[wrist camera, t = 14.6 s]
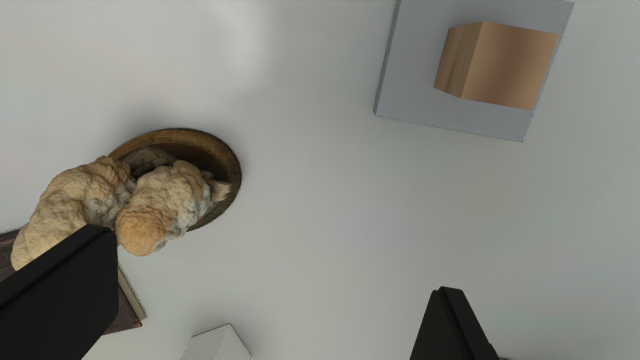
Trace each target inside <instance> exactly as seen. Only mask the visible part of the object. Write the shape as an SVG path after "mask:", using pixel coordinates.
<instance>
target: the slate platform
mask: <svg viewBox="0 0 640 360" xmlns="http://www.w3.org/2000/svg"><path fill="white" fill-rule="evenodd" d="M573 6H574V3H572V2H567V1H561V0H397V4H396V8H395V13H394V18H393V22H392V27H391V31H390V36H389V40H388V45H387V50H386V54H385V59H384V63H383V68H382V72H381V77H380V82H379V86H378V91H377V95H376V100H375V104H374V109H373V112H374V114H375V116H376V117H382V118H388V119H393V120H399V121H404V122H410V123H415V124H421V125H427V126H432V127H438V128H443V129H449V130H454V131H460V132H466V133H471V134H477V135H482V136H488V137H493V138H499V139H505V140H510V141H516V142H521V143H523V140H524V137H525V135H526V132H527V129H528V127H529V124H530V121H531V118H532V116H533V113H534V110H535V108H536V105H537V102H538V100H539V97H540V94H541V92H542V89H543V86H544V84H545V81H546V78H547V75H548V73H549V70H550V67H551V65H552V62H553V59H554V57H555V54H556V51H557V49H558V46H559V43H560V40H561V38H562V35H563V32H564V30H565V27H566V24H567V22H568V19H569V16H570V14H571V11H572V8H573ZM481 21H486V22H492V23H498V24H503V25H509V26H515V27H520V28H526V29H532V30H538V31H543V32H549V33H555V34H559V36H558V39H557V41H556V44H555V47H554V50H553V52H552V55H551V58H550V61H549V63H548V66H547V69H546V72H545V74H544V77H543V80H542V83H541V85H540V88H539V91H538V94H537V96H536V99H535V102H534V105H533V107H532V110H531V111H530V110H524V109H518V108H513V107H507V106H501V105H495V104H490V103H484V102H478V101H472V100H467V99H461V98H458V97H456V96H453V95H450V94H448V93H445V92H443V91H440V90H437V89H435V88H433V86H434V82H435V78H436V74H437V71H438V67H439V63H440V59H441V55H442V52H443V48H444V44H445V40H446V36H447V33H448V29H449V28H454V27H458V26H463V25H467V24H472V23H476V22H481Z"/></svg>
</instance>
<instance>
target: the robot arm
mask: <svg viewBox="0 0 640 360" xmlns="http://www.w3.org/2000/svg"><path fill="white" fill-rule="evenodd" d="M118 311H119V291H118V255H117V236H116V234H115V233H112V230H111V228H109V227H106V226H100V225H95V224H86V225H84V226H83V227H81V228H80V229H78V230H77V231H75V232H74V233H72V234H71V235H69V236H68V237H66V238H65V239H64V240H62V241H61V242H59V243H58V244H56V245H55V246H53V247H52V248H50V249H49V250H47V251H46V252H44V253H43V254H41V255H40V256H38V257H37V258H35V259H34V260H32V261H31V262H29V263H28V264H26V265H25V266H23V267H22V268H20V269H19V270H18V271H16V272H15V273H13V274H12V275H10V276H9V277H7V278H6V279H4V280H3V281H1V282H0V360H81V359H82V358H83V357H84V356H85V354H86V353H87V352H88V351H89V350H90V349H91V347H92V346H93V345H94V344H95V343H96V341H97V340H98V339H99V338H100V337H101V336H102V334H103V333H104V332H105V331H106V330H107V328H108V327H109V326H110V325H111V324H112V323H113V321H114V320H115V318H116V316H117V314H118ZM410 360H502V359H499V357H498V355H497V353H496V351H495V350H494V348H493V346H492V345H491V344H490V343H489V342H488V340H487V338H486V336H485V334H484V332H483V330H482V328H481V326H480V324H479V322H478V320H477V318H476V316H475V314H474V312H473V310H472V308H471V306H470V304H469V302H468V300H467V298H466V296H465V295H464V293H463V291H462V290H460V289H455V288H449V287H444V286H441V287H440V288H439V289H438V291H437V290H433V292H432V293H431V296H430V299H429V302H428V305H427V308H426V311H425V314H424V317H423V320H422V323H421V326H420V329H419V332H418V335H417V338H416V341H415V344H414V347H413V351H412V354H411V357H410Z"/></svg>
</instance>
